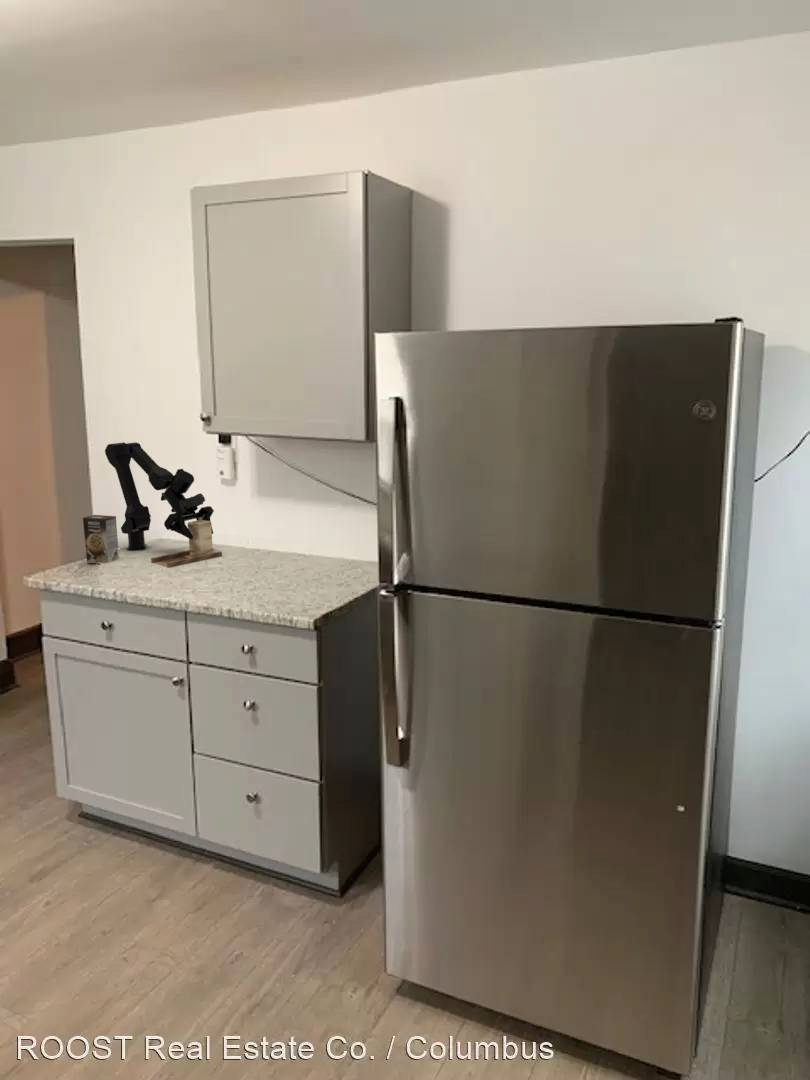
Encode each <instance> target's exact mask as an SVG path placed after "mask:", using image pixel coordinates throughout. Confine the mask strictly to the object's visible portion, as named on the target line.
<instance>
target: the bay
mask: <svg viewBox="0 0 810 1080" xmlns="http://www.w3.org/2000/svg"><path fill="white" fill-rule="evenodd" d="M189 550H190V549H189ZM189 550H184V551H180V552H175V553H174V552H173V553H169V554H165V555H160V556H155V557H150V562H151V563H152V564H154V565H159V566H162V567H165V568H169V569H170V568H174V567H180V566H184V565H189V564H192V563H198V562H201V561H206V560H207V561H208V560H210V559H212V560H213V559H216V558H220V557H223V551H217V552H213V553H211V554H206V555H201V556H197V557H190V552H189Z"/></svg>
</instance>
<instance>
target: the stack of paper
mask: <svg viewBox="0 0 810 1080" xmlns="http://www.w3.org/2000/svg"><path fill="white" fill-rule="evenodd" d="M212 525H213V524H212V521H211V520H210V521H205V520H191V521H188V522H187V524H186V526H187V528H188V529H189V531H190V532H191V534H192V536H193V539H192V540H191V539H189V538H188V545H189V552H190V557H197V556H201V555H206V554H211V553H214V547H213V534H212V530H211V526H212Z"/></svg>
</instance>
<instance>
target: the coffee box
mask: <svg viewBox="0 0 810 1080" xmlns="http://www.w3.org/2000/svg"><path fill="white" fill-rule="evenodd" d="M82 524H83V533H84V545H85V557H86V563H87V564H88V563H96V564H95V565H100V563H111V562H114V561H117V560H119V559H120V553H119V540H118V539H119V538H118V528H117V527H118V525H117V516H116V515H102V514H93V515H88V516H87V515H86V516H83V517H82Z"/></svg>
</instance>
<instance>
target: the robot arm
mask: <svg viewBox="0 0 810 1080" xmlns="http://www.w3.org/2000/svg"><path fill="white" fill-rule="evenodd" d="M104 454H105V456H106V458H107V460H108V463H109V464H110V465H111V466H112V467H113V468H114V469H115V471H116V474H117V475H116V476H117V478H118V479H117V480H118V481H119V484H120V485H119V486H120V488H121V491H122V495H123V499H124V501H125V502H124V503H125V504H126V509H125V512H124V521H123V524H122V525H121V526H120V530H121V533H122V534H125V535H127V540H128V547H126V551H134V550H145V549H147V546H148V544H146V539H145V532H147V531H149V530H150V525H151V521H152V520H151V519H152V518H151V517H152V515H151V513H150V509H149V507H148V506H147V505H146V506H144V505H143V504H142V503H141V500H140V497H139V493H138V490H137V487H136V482H135V479H134V477H133V473H132V470H131V467H130V464H131V461H132V460H133V461H134V462H135V463H136V464H137V465H138V466H139V467H140V468H141V470H142V471H143V472H144V473H145V474H147V476H148V482H149V483H150V485H151V486H152V487H153V489H154V490H156V491H163V490H165V491H164V492H161V496H160V501H164V502H165V501H167V502H168V504H169V506H170V507H171V510H170V511H171V512H172V513H170V514H169V515H168V516H167V518H166V519H165V521H164V523H163V524H164V527H165V529H166V531H168V530H170V531H171V532H175V533H177V534H179V535H181V536H184V537H185V538H187V539H188V540H189V539H191V540H192V539H193V536H192V534H191V532H190V531H189V529H188V525H187V524H186V522H187V521H188V522H189V521H193V520H195V521H197V520H205V521H211V517H212V515H213V513H214V512H215V510H214V509H213V507H212V506H210V505H208V506H202V507H200V509H199V508H198V507H199V506H201V505H203V504H204V502H206V497H205V496H204V495H203V494H202V493H197V494H195V495H194V496H190V497H187V498H186V497H185V495H184V494H185V493H187V492H188V490H190V488H191V486H192V485H193V484H194V483H195V477H194V475H193V474H191V473H190V472H188V471H187V470H184V469H183V468H179V469H177V470H176V471H175V474H174V473H172V472H171V471H169V470H168V469H167V468H164V467H161V466H160V465H158V464H157V462H155V461H154V459H153V458H152V457H151V456H150V455H149V454H148V453H147V452H146V451H145V450H144V448H143V447H142V446H141V444H140V443H139V442H127V443H126V442H115V443H109V444H107V445H106V447H105V449H104ZM198 509H199V510H198ZM197 510H198V511H197ZM196 511H197V512H196ZM211 530H212V535H213V534H214V531H213V527H212V525H211Z"/></svg>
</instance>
